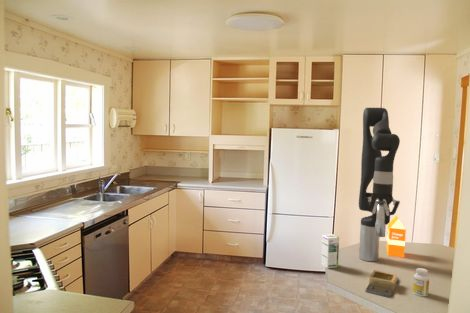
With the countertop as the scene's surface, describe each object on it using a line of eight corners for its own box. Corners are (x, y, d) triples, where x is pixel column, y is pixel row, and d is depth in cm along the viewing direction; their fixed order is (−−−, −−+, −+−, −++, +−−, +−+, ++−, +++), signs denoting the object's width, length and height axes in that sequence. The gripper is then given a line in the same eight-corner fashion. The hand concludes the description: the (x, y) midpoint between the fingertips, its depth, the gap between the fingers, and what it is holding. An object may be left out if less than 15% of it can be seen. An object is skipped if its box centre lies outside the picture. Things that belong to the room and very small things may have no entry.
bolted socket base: (376, 274, 160) (376, 265, 160) (398, 279, 155) (398, 270, 155) (365, 291, 143) (366, 281, 142) (390, 297, 138) (390, 287, 137)
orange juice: (387, 255, 186) (390, 217, 184) (386, 250, 194) (388, 214, 193) (404, 257, 184) (406, 219, 182) (401, 252, 192) (404, 215, 190)
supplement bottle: (423, 290, 145) (425, 267, 144) (431, 296, 140) (432, 272, 139) (410, 290, 145) (411, 267, 144) (417, 296, 139) (419, 272, 139)
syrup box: (327, 268, 165) (328, 237, 164) (320, 264, 171) (322, 234, 170) (338, 267, 167) (339, 237, 166) (331, 263, 173) (332, 233, 172)
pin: (374, 233, 152) (376, 198, 152) (387, 235, 150) (389, 199, 149) (372, 235, 148) (374, 199, 147) (385, 238, 146) (387, 201, 145)
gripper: (403, 183, 147) (400, 224, 148) (367, 179, 155) (365, 219, 156) (400, 184, 141) (397, 228, 142) (362, 181, 149) (360, 222, 150)
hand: (380, 223), depth 149 cm, fingers closed on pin, 4 cm apart
